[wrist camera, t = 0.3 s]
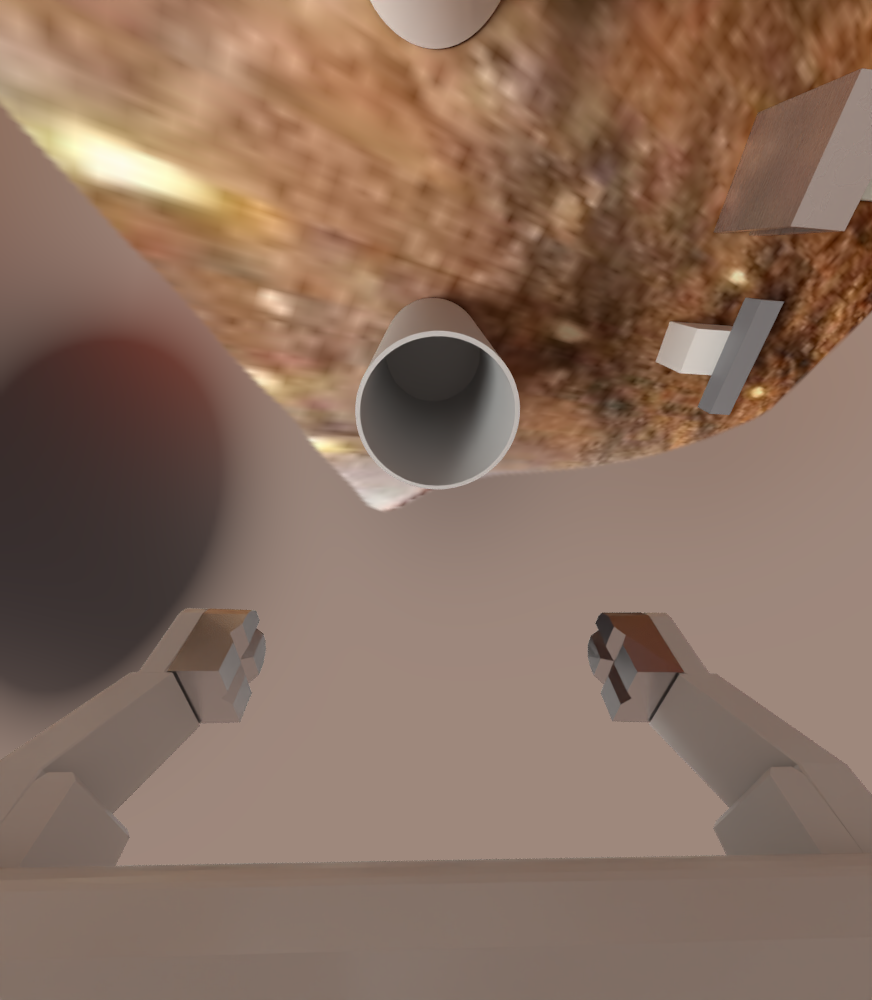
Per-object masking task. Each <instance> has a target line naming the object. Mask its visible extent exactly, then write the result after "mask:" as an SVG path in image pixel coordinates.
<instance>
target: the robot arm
mask: <svg viewBox="0 0 872 1000" xmlns="http://www.w3.org/2000/svg"><path fill="white" fill-rule="evenodd" d="M370 1H371V3H372V5H373V6H374V8H375V10H376V11H377V13H378V14H379V15H380V17H381V18H382V19H383V21H384V22H385V23H386V24H387V25H388V26H389V27H390V28H391V29H392V30H393V31H394V32H395V33H396V34H398V35H399V36H400V37H402V38H403V39H405V40H406V41H408V42H410V43H412V44H414V45H417V46H420V47H424V48H430V49H442V48H447V47H451V46H454V45H457V44H459V43H461V42H463V41H465V40H466V39H468V38H469V37H471V36H472V35H473V34H475V33H476V32H477V31H478V30H479V29H480V28H481V27H482V26H483V25H484V24H485V23H486V22H487V20H488V19H489V18H490V16H491V15H492V14H493V12H494V11H495V9H496V8H497V6H498V4H499V2H500V1H501V0H370ZM258 623H259V618H258V615H257V612H256V611H254V610H234V609H197V608H196V609H194V608H186V609H185V610H183V611H182V612H180V613H179V614H178V616H177V617H176V619H175V620H174V622H173V623H172V625H171V626H170V627H169V629H168V630H167V632H166V633H165V635H164V636H163V637H162V639H161V641H160V642H159V643H158V645H157V646H156V648H155V649H154V651H153V652H152V653H151V655H150V656H149V658H148V659H147V661H146V662H145V663H144V665H143V666H142V668H141V669H140V671H139V672H131V673H129V674H128V675H126V676H125V677H124V678H122V679H120V680H119V681H117V682H116V683H115V684H113V685H111V686H110V687H108V688H107V689H105V690H104V691H103V692H101V693H100V694H98V695H96V696H95V697H93V698H92V699H90V700H89V701H87V702H86V703H84V704H83V705H81V706H80V707H78V708H77V709H76V710H74V711H73V712H71V713H70V714H68V715H67V716H65V717H64V718H62V719H61V720H59V721H58V722H56V723H55V724H54V725H52V726H50V727H49V728H47V729H46V730H44V731H43V732H41V733H40V734H38V735H37V736H35V737H34V738H32V739H31V740H29V741H28V742H26V743H25V744H23V745H22V746H20V747H19V748H17V749H16V750H14V751H13V752H11V753H10V754H8V755H7V756H5V757H4V758H2V759H1V760H0V1000H872V794H871V793H870V792H869V791H868V790H867V788H866V787H865V786H864V785H863V784H862V783H861V781H860V780H859V779H858V778H857V776H856V775H855V774H854V773H853V772H852V770H851V769H850V768H849V767H848V765H847V764H845V763H844V762H842V761H841V760H839V759H838V758H837V757H835V756H834V755H832V754H830V753H829V752H828V751H826V750H825V749H824V748H822V747H821V746H819V745H818V744H816V743H815V742H813V741H812V740H810V739H809V738H808V737H806V736H805V735H803V734H802V733H801V732H799V731H798V730H796V729H795V728H793V727H792V726H791V725H789V724H788V723H786V722H785V721H783V720H782V719H780V718H779V717H778V716H776V715H774V714H773V713H772V712H770V711H769V710H768V709H766V708H765V707H763V706H762V705H760V704H759V703H758V702H756V701H755V700H753V699H752V698H750V697H749V696H747V695H746V694H745V693H743V692H742V691H740V690H739V689H737V688H736V687H735V686H733V685H731V684H730V683H729V682H727V681H726V680H724V679H723V678H722V677H720V676H719V675H717V674H710V673H709V672H708V670H707V669H706V668H705V666H704V665H703V663H702V662H701V660H700V659H699V657H698V656H697V655H696V653H695V652H694V650H693V649H692V647H691V646H690V644H689V643H688V642H687V640H686V639H685V637H684V636H683V634H682V633H681V631H680V630H679V628H678V627H677V625H676V624H675V623H674V621H673V620H672V618H671V617H670V616H669V615H667V614H666V613H641V612H640V613H638V612H637V613H601V614H600V615H599V616H598V618H597V621H596V625H597V628H598V631H597V632H595V633H594V634H592V635H591V637H590V640H589V643H588V659H589V663H590V667H591V669H592V672H593V675H594V676H595V677H596V678H597V679H598V680H600V681H601V682H602V683H603V684H604V685H603V689H602V691H601V695H602V697H603V699H604V702H605V704H606V707H607V709H608V712H609V714H610V716H611V719H612V721H621V722H650V723H649V725H650V726H651V727H652V728H653V729H654V730H655V731H656V732H657V733H658V734H659V735H660V736H661V737H662V738H663V739H664V740H665V741H666V742H667V743H668V744H669V745H670V747H672V749H674V751H675V752H676V753H677V754H678V755H679V756H680V757H681V758H682V759H683V760H684V761H685V762H686V763H687V764H688V765H689V766H690V767H691V768H692V769H693V770H694V771H695V772H696V773H697V774H698V776H699V777H700V778H701V779H702V780H703V781H704V782H705V783H706V784H707V785H708V786H709V787H710V788H711V789H712V790H713V791H714V792H715V793H716V794H717V795H718V796H719V797H720V798H721V799H722V800H723V801H724V803H725V804H726V805H727V806H728V807H729V809H728V810H727V811H726V812H725V813H724V814H723V815H722V816H721V817H720V818H719V819H718V820H717V821H716V823H715V826H714V831H715V833H716V835H717V837H718V839H719V841H720V843H721V845H722V847H723V849H724V851H725V853H726V855H725V856H724V855H721V856H720V855H718V856H663V857H662V856H661V857H607V858H606V857H605V858H604V857H602V858H544V859H489V860H488V859H486V860H430V861H429V860H428V861H369V862H315V863H314V862H312V863H310V862H309V863H253V864H198V865H197V864H196V865H195V864H194V865H142V866H141V865H138V866H116V863H117V862H118V859H119V857H120V855H121V853H122V851H123V849H124V847H125V845H126V843H127V841H128V839H129V833H128V830H127V828H126V827H125V826H124V825H123V824H122V823H121V822H120V821H119V820H118V819H117V818H116V817H115V816H114V815H113V813H114V812H115V811H116V810H117V809H118V808H119V807H120V806H121V805H122V804H123V803H124V802H125V801H126V800H127V799H128V798H129V797H130V796H131V795H132V794H133V793H134V792H135V791H136V790H137V789H138V788H139V787H140V786H141V785H142V784H143V783H144V782H145V781H146V780H147V779H148V778H149V777H150V776H151V775H152V774H153V773H154V772H155V771H156V770H157V769H158V768H159V767H160V766H161V765H162V764H163V763H164V762H165V760H166V759H168V757H170V755H172V754H173V752H175V751H176V749H177V748H178V747H179V746H180V745H181V744H182V743H183V742H184V741H185V740H186V739H187V738H188V737H189V736H190V735H191V734H192V733H193V732H194V731H195V730H196V729H197V728H198V727H199V726H200V725H199V723H230V722H240V721H241V718H242V716H243V713H244V711H245V708H246V706H247V703H248V701H249V698H250V696H251V690H250V687H249V683H250V682H251V681H252V680H253V679H255V678H256V677H257V676H258V675H259V673H260V671H261V668H262V665H263V662H264V656H265V650H266V646H265V638H264V634H263V633H262V632H261V631H259V630H258V629H257V628H256V627H257V625H258Z"/></svg>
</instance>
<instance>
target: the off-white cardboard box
mask: <svg viewBox="0 0 872 1000" xmlns="http://www.w3.org/2000/svg"><path fill="white" fill-rule="evenodd" d="M732 327H733V326H726V325H712V324H699V323H685V322H672V321H670V323H669V326H668V328H667V331H666V334H665V337H664V340H663V342H662V345H661V348H660V351H659V354H658V357H657V359H656V362H657V363H659V364H661V365H664V366H666V367H668V368H670V369H672V370H674V371H677V372H679V373H686V374H701V375H712V373H713V371H714V369H715V366H716V364H717V362H718V359H719V357H720V355H721V353H722V350H723V348H724V346H725V343H726V341H727V339H728V336H729V334H730V332H731V330H732Z"/></svg>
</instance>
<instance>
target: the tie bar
mask: <svg viewBox="0 0 872 1000" xmlns="http://www.w3.org/2000/svg"><path fill="white" fill-rule="evenodd" d="M783 303H784V302H782V301H775V300H767V299H754V298H745V300H744V302H743V304H742V307H741V309H740V311H739V314H738V316H737V318H736V320H735V323H734V325H733V327H732V330H731V332H730V334H729V336H728V339H727V341H726V343H725V346H724V348H723V350H722V353H721V355H720V357H719V359H718V362H717V364H716V366H715V369H714V371H713V373H712V375H711V378H710V380H709V382H708V385H707V387H706V389H705V391H704V394H703V396H702V398H701V401H700V403H699V405H698V407H699V408H701V409H702V410H704V411H706V412H708V413H710V414H725V415H729V414H730V412H731V410H732V408H733V406H734V404H735V402H736V400H737V398H738V396H739V394H740V392H741V390H742V387H743V385H744V383H745V381H746V379H747V377H748V375H749V373H750V371H751V369H752V367H753V365H754V363H755V361H756V359H757V357H758V355H759V352H760V350H761V348H762V346H763V344H764V342H765V340H766V338H767V336H768V334H769V332H770V330H771V328H772V326H773V324H774V322H775V319H776V317H777V315H778V313H779V311H780V309H781V307H782V305H783Z"/></svg>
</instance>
